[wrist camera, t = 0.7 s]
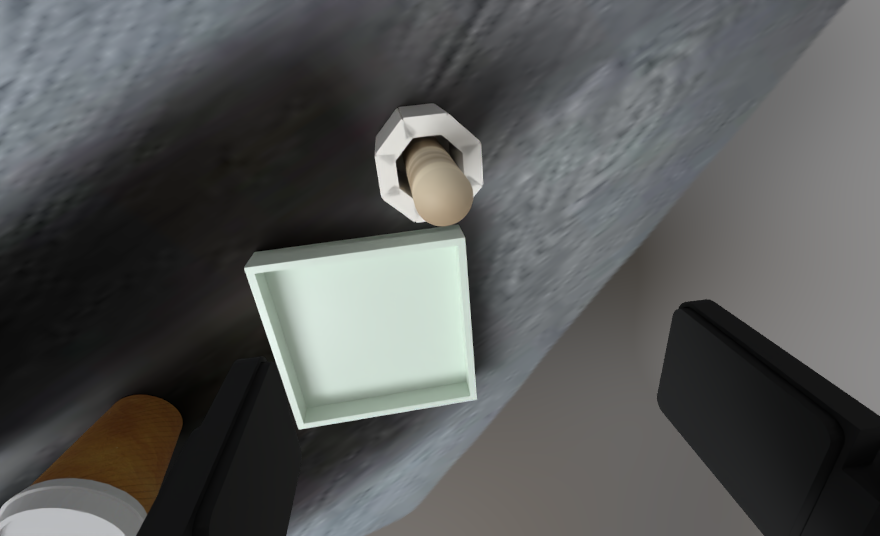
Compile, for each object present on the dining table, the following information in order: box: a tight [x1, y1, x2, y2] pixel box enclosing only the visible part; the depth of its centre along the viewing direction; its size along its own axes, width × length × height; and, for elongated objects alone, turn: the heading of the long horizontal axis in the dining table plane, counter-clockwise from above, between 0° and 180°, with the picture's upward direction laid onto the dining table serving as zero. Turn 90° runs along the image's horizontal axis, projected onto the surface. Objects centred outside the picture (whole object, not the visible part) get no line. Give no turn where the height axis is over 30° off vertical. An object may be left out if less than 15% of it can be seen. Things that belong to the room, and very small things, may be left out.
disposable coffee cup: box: [0, 395, 183, 536], centre depth 35 cm, size 10×10×12 cm
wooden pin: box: [402, 136, 473, 226], centre depth 26 cm, size 3×3×12 cm
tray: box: [244, 224, 477, 429], centre depth 37 cm, size 17×17×3 cm
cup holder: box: [375, 103, 483, 223], centre depth 29 cm, size 7×7×7 cm
